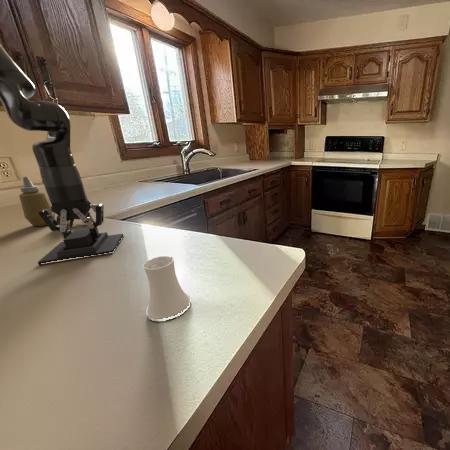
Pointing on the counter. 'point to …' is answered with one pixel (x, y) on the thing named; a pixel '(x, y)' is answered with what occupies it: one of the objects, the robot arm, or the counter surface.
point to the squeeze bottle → (33, 202)
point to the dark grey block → (78, 239)
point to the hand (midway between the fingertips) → (83, 240)
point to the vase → (164, 289)
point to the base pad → (84, 248)
